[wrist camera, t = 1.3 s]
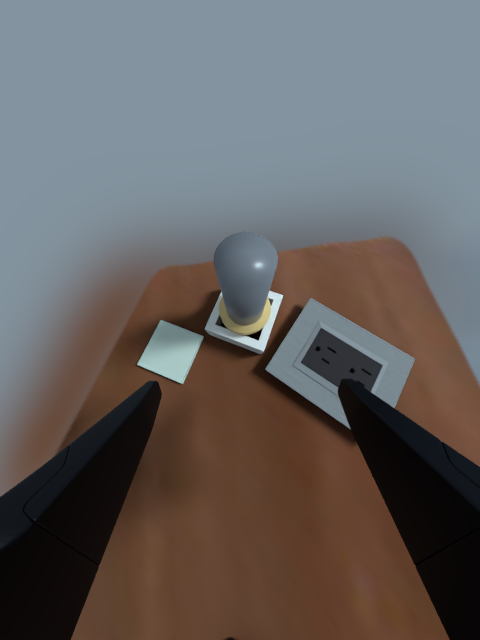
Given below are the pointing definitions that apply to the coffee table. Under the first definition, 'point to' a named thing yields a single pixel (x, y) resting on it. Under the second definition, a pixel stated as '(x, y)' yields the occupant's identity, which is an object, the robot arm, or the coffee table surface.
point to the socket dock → (242, 340)
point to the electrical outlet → (337, 360)
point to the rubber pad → (171, 351)
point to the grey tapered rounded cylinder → (245, 281)
